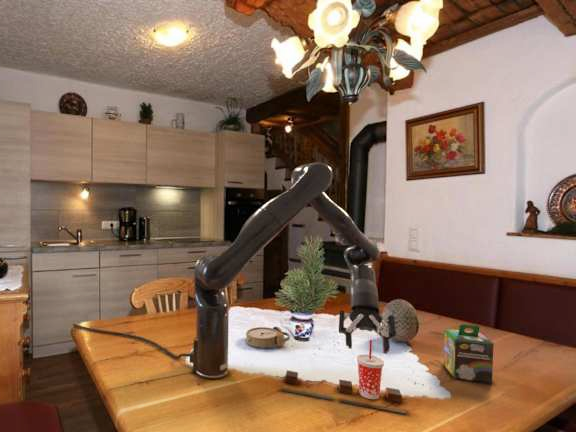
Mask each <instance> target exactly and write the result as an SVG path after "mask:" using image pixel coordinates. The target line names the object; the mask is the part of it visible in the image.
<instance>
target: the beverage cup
mask: <svg viewBox="0 0 576 432" xmlns="http://www.w3.org/2000/svg"><path fill="white" fill-rule="evenodd" d="M372 343H373V340H372V339H369V348H368V351H369V352H368V354H359V355H357V356H356V362H357V370H358V371H357V373H358V374H357V375H358V392H359V395H360V396H362V398H365V399H369V400H378V399H379V398H380V392H381V383H382V374H383V368H384V364H385V363H384V360H383V359H382V358H379V357H377V356H375V355H372V351H373V350H372V345H373V344H372Z"/></svg>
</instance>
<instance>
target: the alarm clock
mask: <svg viewBox="0 0 576 432" xmlns="http://www.w3.org/2000/svg"><path fill="white" fill-rule="evenodd" d="M245 335H246V343H247V344H248V345H249V346H251V347H255V348H263V349H264V348H272V347H273V348H274V347H276V346H277V347H278V348H281V347H283V346H284V345H285V342H287V341H289V340H290V339H291V335H290V334H289V333H288V332H286V331H282V329H281V327H278V326H273V327H268V326H267V327H266V326H259V327H258V326H257V327H253V328H250V329H248V330H247V331H246V333H245ZM285 336H286V337H285Z"/></svg>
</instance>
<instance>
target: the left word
mask: <svg viewBox="0 0 576 432" xmlns="http://www.w3.org/2000/svg"><path fill="white" fill-rule="evenodd" d="M298 381H299V372H298V371H294V370H293V371H292V370H286V372H285V383H288V384H293V385H298V383H299V382H298ZM281 392H284V393H289V394H295V395H301V396H305V397H311V398H316V399H321V400H326V401H333V397H331V396H327V395H319V394H316V393H311V392H305V391H299V390H295V389H289V388H281Z"/></svg>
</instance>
